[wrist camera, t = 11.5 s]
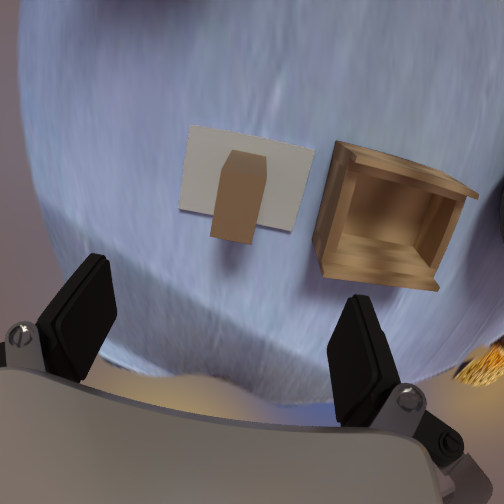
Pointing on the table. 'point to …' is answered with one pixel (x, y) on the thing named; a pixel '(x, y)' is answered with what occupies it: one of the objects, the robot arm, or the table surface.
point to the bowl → (502, 216)
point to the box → (385, 219)
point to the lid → (243, 181)
